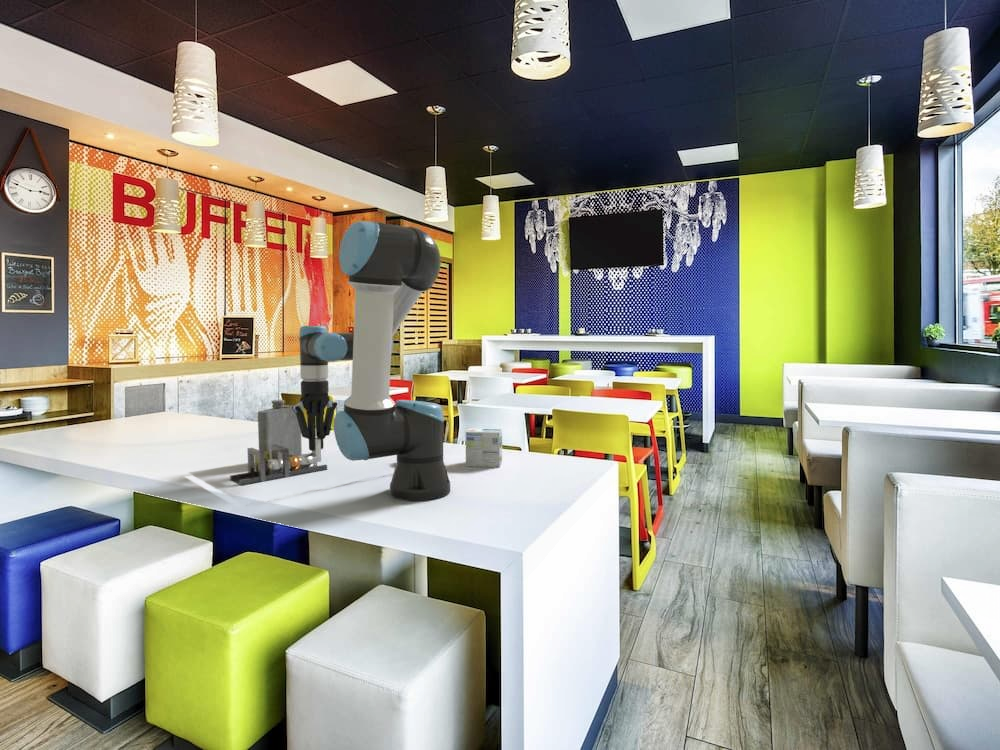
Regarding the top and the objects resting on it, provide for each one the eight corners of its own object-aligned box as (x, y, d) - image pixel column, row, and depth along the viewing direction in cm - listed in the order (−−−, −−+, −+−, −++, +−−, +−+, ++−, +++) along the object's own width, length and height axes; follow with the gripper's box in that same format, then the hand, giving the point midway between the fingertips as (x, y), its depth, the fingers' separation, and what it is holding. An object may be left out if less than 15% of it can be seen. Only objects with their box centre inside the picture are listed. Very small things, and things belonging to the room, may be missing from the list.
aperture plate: (269, 475, 158) (268, 450, 157) (270, 475, 157) (269, 451, 157) (255, 477, 155) (254, 452, 154) (256, 478, 154) (255, 453, 154)
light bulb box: (502, 462, 174) (502, 428, 174) (500, 467, 168) (500, 432, 167) (468, 461, 175) (468, 427, 175) (465, 466, 169) (465, 431, 168)
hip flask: (265, 473, 160) (263, 403, 158) (254, 471, 161) (252, 402, 160) (304, 461, 175) (302, 397, 173) (293, 460, 176) (292, 396, 175)
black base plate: (314, 467, 166) (313, 460, 166) (328, 472, 160) (328, 465, 160) (229, 483, 149) (229, 475, 149) (241, 489, 143) (241, 481, 143)
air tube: (311, 468, 163) (308, 452, 164) (318, 467, 160) (315, 450, 161) (266, 476, 154) (264, 459, 155) (273, 475, 151) (270, 458, 152)
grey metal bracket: (276, 471, 158) (275, 444, 158) (289, 476, 152) (288, 448, 152) (248, 476, 153) (247, 448, 152) (260, 482, 147) (260, 453, 146)
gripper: (329, 377, 168) (330, 455, 170) (286, 380, 158) (289, 462, 160) (341, 379, 162) (343, 459, 164) (298, 382, 153) (301, 467, 155)
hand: (316, 460), depth 162 cm, fingers closed
